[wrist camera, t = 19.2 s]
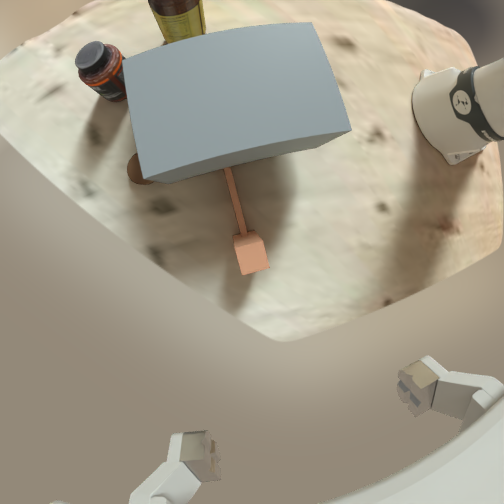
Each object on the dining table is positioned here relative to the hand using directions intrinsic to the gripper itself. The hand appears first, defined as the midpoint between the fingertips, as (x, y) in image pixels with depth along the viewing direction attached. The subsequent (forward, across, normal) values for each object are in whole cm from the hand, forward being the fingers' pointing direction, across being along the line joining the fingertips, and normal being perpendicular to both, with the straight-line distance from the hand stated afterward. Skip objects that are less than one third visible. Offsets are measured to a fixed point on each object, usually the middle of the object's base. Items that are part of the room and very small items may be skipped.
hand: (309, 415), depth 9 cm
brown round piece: (+29, +10, -16) cm, 35 cm away
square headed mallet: (+29, 0, -7) cm, 30 cm away
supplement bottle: (+29, +12, -30) cm, 44 cm away
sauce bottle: (+29, +1, -35) cm, 46 cm away
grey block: (+29, -2, -18) cm, 34 cm away
